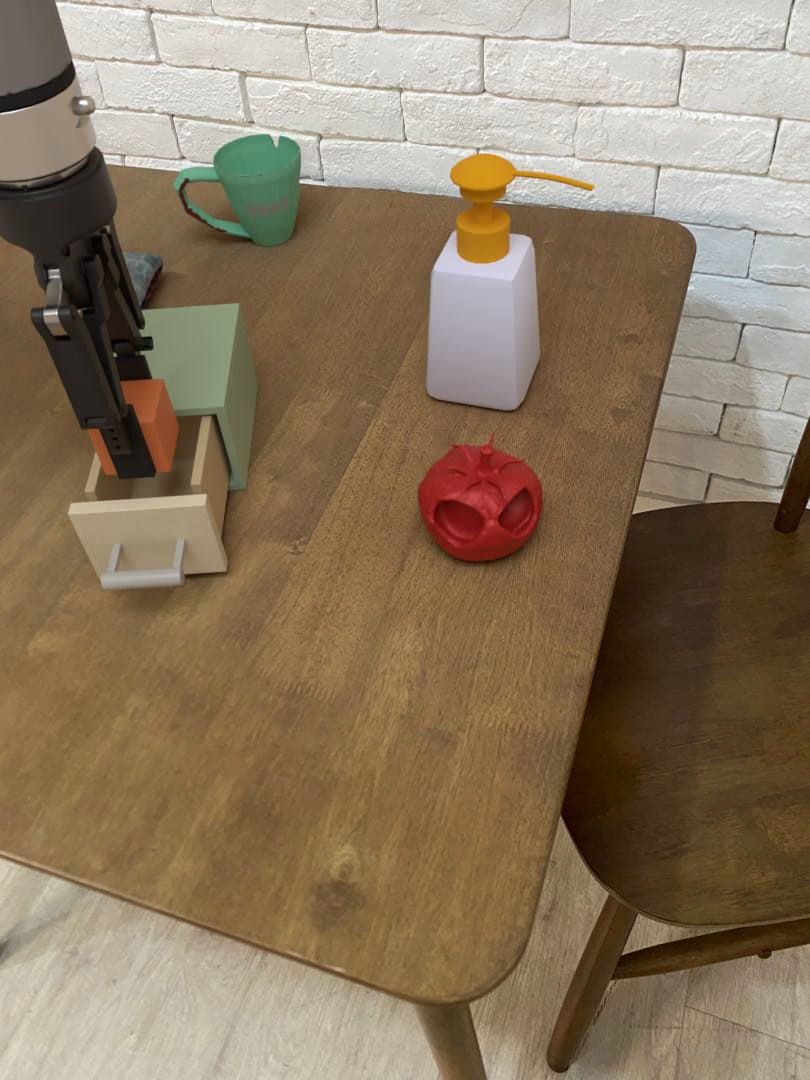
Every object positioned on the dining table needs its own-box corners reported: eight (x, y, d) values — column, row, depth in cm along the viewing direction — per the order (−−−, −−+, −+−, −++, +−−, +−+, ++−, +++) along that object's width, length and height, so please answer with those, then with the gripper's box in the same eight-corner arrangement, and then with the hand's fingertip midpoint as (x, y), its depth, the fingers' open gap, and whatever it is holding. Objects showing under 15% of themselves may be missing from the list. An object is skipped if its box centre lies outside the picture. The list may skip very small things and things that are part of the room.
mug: (305, 208, 115) (292, 127, 108) (319, 248, 109) (307, 166, 101) (187, 229, 114) (166, 149, 106) (194, 272, 107) (172, 190, 100)
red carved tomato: (416, 493, 81) (409, 411, 74) (530, 482, 81) (534, 399, 74) (426, 581, 75) (420, 500, 68) (550, 569, 75) (557, 487, 68)
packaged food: (65, 337, 100) (49, 297, 97) (98, 275, 108) (85, 236, 104) (143, 338, 99) (131, 298, 96) (172, 276, 107) (161, 236, 104)
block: (105, 475, 71) (85, 426, 68) (117, 432, 75) (98, 382, 71) (170, 471, 71) (153, 421, 68) (179, 427, 75) (163, 378, 71)
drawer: (221, 613, 73) (198, 547, 67) (89, 621, 73) (54, 556, 67) (240, 457, 85) (222, 389, 79) (126, 465, 85) (100, 398, 79)
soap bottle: (565, 426, 86) (584, 199, 69) (421, 402, 89) (407, 181, 73) (586, 363, 92) (608, 140, 75) (450, 343, 95) (443, 126, 79)
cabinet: (246, 489, 83) (223, 406, 76) (116, 498, 83) (82, 416, 76) (258, 385, 93) (239, 302, 86) (142, 393, 93) (113, 311, 86)
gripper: (67, 234, 49) (176, 531, 67) (125, 90, 61) (204, 373, 79) (-73, 245, 50) (72, 538, 67) (12, 99, 62) (116, 379, 79)
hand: (143, 448), depth 73 cm, fingers closed on block, 5 cm apart
